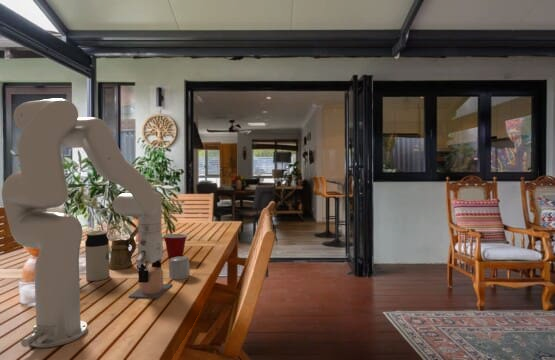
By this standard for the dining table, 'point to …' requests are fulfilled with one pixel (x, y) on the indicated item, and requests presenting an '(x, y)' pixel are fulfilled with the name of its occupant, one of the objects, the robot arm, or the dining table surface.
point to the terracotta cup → (153, 281)
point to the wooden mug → (122, 252)
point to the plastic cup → (175, 244)
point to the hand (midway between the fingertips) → (150, 277)
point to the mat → (156, 295)
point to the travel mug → (97, 255)
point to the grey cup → (179, 267)
